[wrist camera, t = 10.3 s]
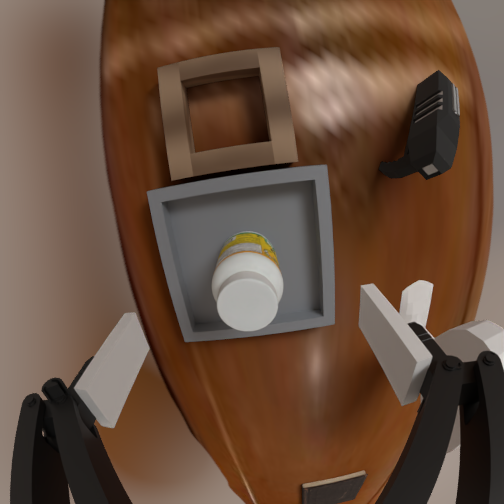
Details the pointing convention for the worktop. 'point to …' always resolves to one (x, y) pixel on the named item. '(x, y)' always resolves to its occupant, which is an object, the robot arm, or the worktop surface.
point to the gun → (430, 131)
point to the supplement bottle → (247, 282)
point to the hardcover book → (333, 489)
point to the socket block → (219, 69)
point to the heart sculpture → (452, 336)
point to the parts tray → (256, 220)
